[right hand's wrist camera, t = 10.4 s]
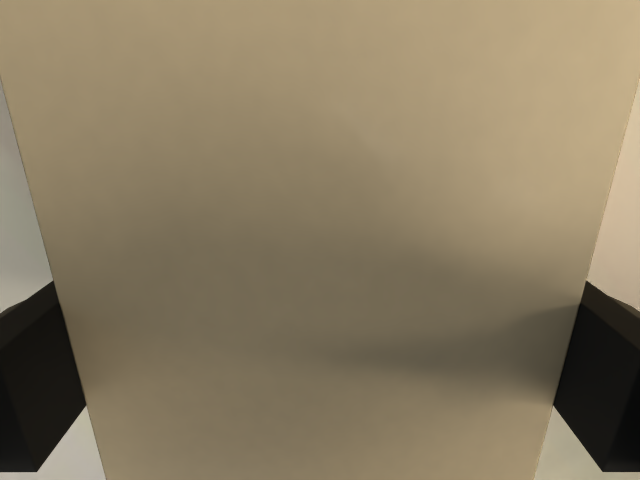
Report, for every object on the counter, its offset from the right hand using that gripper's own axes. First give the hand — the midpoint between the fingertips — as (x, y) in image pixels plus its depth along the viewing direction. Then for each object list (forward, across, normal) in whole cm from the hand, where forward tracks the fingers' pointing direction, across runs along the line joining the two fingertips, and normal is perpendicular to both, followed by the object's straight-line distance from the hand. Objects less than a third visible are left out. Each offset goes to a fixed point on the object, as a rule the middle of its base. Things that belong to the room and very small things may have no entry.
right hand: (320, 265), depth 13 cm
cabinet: (+4, 0, -7) cm, 8 cm away
